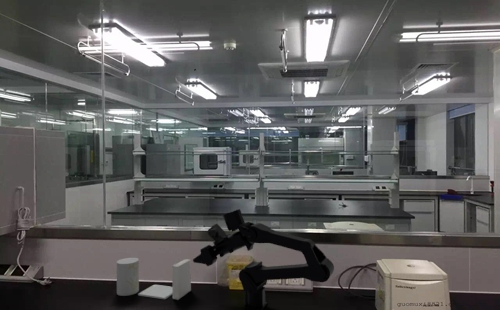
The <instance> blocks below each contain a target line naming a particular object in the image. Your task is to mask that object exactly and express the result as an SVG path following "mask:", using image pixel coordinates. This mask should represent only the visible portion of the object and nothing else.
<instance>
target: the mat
mask: <svg viewBox="0 0 500 310" xmlns="http://www.w3.org/2000/svg"><path fill="white" fill-rule="evenodd" d="M137 295H138V297H139V296H140V297H146V298H153V299H158V300H159V299H160V300H166V299H168V298H170V297H171V296H173V293H172V286H168V285H161V284H153V285H151V286H149V287H147V288H146V289H144V290H142V291H140V292H138V293H137Z"/></svg>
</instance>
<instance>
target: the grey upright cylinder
mask: <svg viewBox="0 0 500 310" xmlns="http://www.w3.org/2000/svg"><path fill="white" fill-rule="evenodd" d="M139 261H140V260H139V258H137V257H126V258H121V259H118V260H116V295H118V296H123V297H125V296H132V295H135V294H138V293H139V292H140V265H139V264H140V262H139Z"/></svg>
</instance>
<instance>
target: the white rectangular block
mask: <svg viewBox="0 0 500 310" xmlns="http://www.w3.org/2000/svg"><path fill="white" fill-rule="evenodd" d="M191 261H192V259H190V258H189V259H187V258H184V259H182V260H181V261H179V262H178V263H174V264H173V265H172V266H171V268H172V269H171V270H172V274H171V275H172V276H171V277H172V282H171V283H172V286H171V287H172V293H173V294H172V299H173V300H177V301H179V300H180V299H181V298H182V297H184V296H186V295H187V294H188V293H190V292H191V291H192V270H191V269H192V267H191V264H192V263H191Z"/></svg>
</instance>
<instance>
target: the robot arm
mask: <svg viewBox="0 0 500 310" xmlns="http://www.w3.org/2000/svg"><path fill="white" fill-rule="evenodd" d="M222 217H223V220H224V223H225V226H226V227H227V230H228V232H230V231H231V234H230V233H229V234H227V233H226V232H225V230H224V229H223V228H222V226H220V225H219V224H218V223H215V224H213V225H211V227H210V228H208V229H207V231H206V233H207V235H208V236H209V237H210V238H211V239H212V240H213V242H212V243H213V245H210V244H207V245H205V246H204V247H202V248H200V254H198V255H197V256H195V257H194V258H193V259H192V262H193V263H195V264H201V265H206V267H209V266H213V265H214V264H215V263H216V262H217V260H218V256H219V257H220V258H223V257H224V256H226V255H227V254H232V253H234V252H235V251H237V250H240V249H242V248H244V247H246V251H251V250H253V249H254V245H255V244H272V245H274V246H279V247H283V248H287V249H290V250H293V251H297V252H300V253H301V254H303V257H304V259H305V261H306V263H299V264H298V263H297V264H286V265H285V264H284V265H274V266H273V265H272V266H265V265H264V264H263V261H258V262H256V261H252V262H250V263H249V264H246V266H244V268H241V269H240V270H239V273H238V280H239V281H240V283H241V285H242V289H243V291H244V292H243V304H244V306H243V308H244V309H248V310H264V308H265V306H266V305H267V303H268V302H267V301H266V287H265V286H267V282H268V281H275V280H277V281H278V280H279V281H280V280H293V279H295V280H297V279H306V280H308V281H311V282H318V283H326V282H327V281H328V280H329V279H330V277H331V276H332V275H333V273H334V271H335V266H334V263H333V262H332V261H331V259H330V258H327V256H326V255H325V253H324V252H323V251H322V250H321V249H320V248H319V247H318V246H317V244H316V243H315V241H313V239H311V238H304V237H301V236H297V235H294V234H293V235H292V234H288V233H286V232H280V231H277V230H274V229H272V228H271V227H269V226H268V225H266V224H263V223H260V222H258V223H253V222H250V221H246V222H245V219H244V217H243V215H242V211H241V209H240V208H238V209H236V210H234V211H230V212H226V213H225V214H223V215H222ZM235 231H236V232H235ZM233 232H234V233H233Z"/></svg>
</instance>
